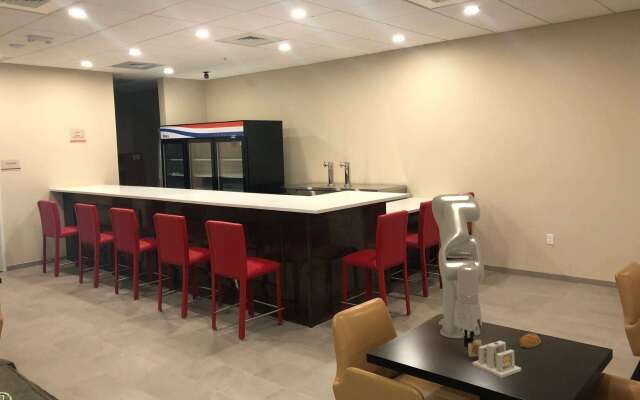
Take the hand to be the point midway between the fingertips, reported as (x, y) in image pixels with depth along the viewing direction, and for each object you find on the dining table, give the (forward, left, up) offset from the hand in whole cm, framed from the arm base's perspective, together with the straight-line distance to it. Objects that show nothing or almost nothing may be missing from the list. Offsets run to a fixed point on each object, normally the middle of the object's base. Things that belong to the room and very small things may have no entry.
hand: (468, 346), depth 192 cm
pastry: (+5, +28, -4) cm, 29 cm away
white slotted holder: (+13, 0, -4) cm, 13 cm away
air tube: (+10, 0, -2) cm, 10 cm away
